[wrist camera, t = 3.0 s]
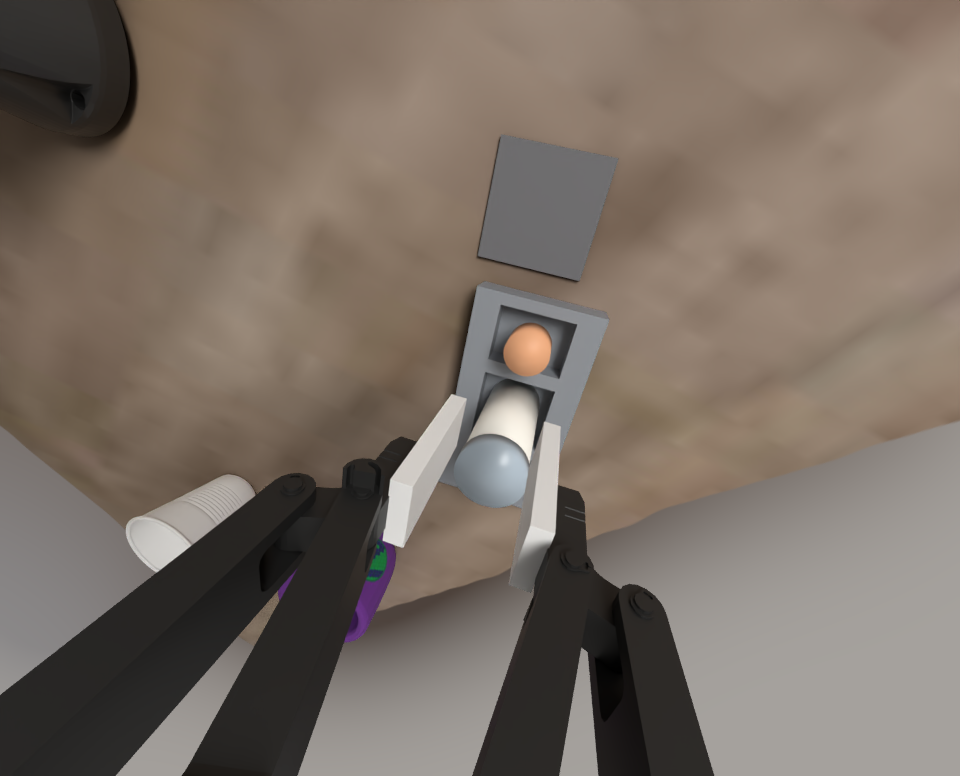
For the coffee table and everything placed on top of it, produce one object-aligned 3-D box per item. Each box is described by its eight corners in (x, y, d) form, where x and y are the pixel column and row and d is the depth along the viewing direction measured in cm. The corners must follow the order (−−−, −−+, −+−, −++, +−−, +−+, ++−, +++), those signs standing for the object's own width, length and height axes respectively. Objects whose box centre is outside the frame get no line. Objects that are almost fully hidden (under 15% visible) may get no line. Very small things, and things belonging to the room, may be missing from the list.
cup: (282, 500, 51) (213, 566, 41) (248, 527, 55) (178, 593, 45) (228, 449, 49) (143, 504, 39) (197, 480, 53) (113, 537, 44)
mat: (502, 135, 29) (501, 134, 28) (618, 159, 27) (618, 158, 27) (478, 255, 32) (477, 255, 32) (579, 280, 31) (579, 281, 31)
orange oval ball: (514, 317, 31) (509, 326, 28) (557, 329, 30) (555, 338, 27) (504, 357, 32) (498, 369, 29) (545, 368, 32) (542, 381, 29)
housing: (484, 281, 33) (477, 285, 30) (606, 312, 32) (609, 319, 29) (446, 465, 42) (438, 481, 40) (539, 494, 41) (537, 513, 38)
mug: (419, 555, 49) (385, 627, 40) (370, 584, 54) (330, 655, 45) (323, 464, 47) (265, 521, 38) (280, 503, 51) (219, 562, 42)
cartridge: (495, 370, 36) (460, 435, 25) (547, 385, 35) (536, 458, 24) (484, 415, 38) (448, 494, 27) (533, 430, 37) (516, 516, 26)
